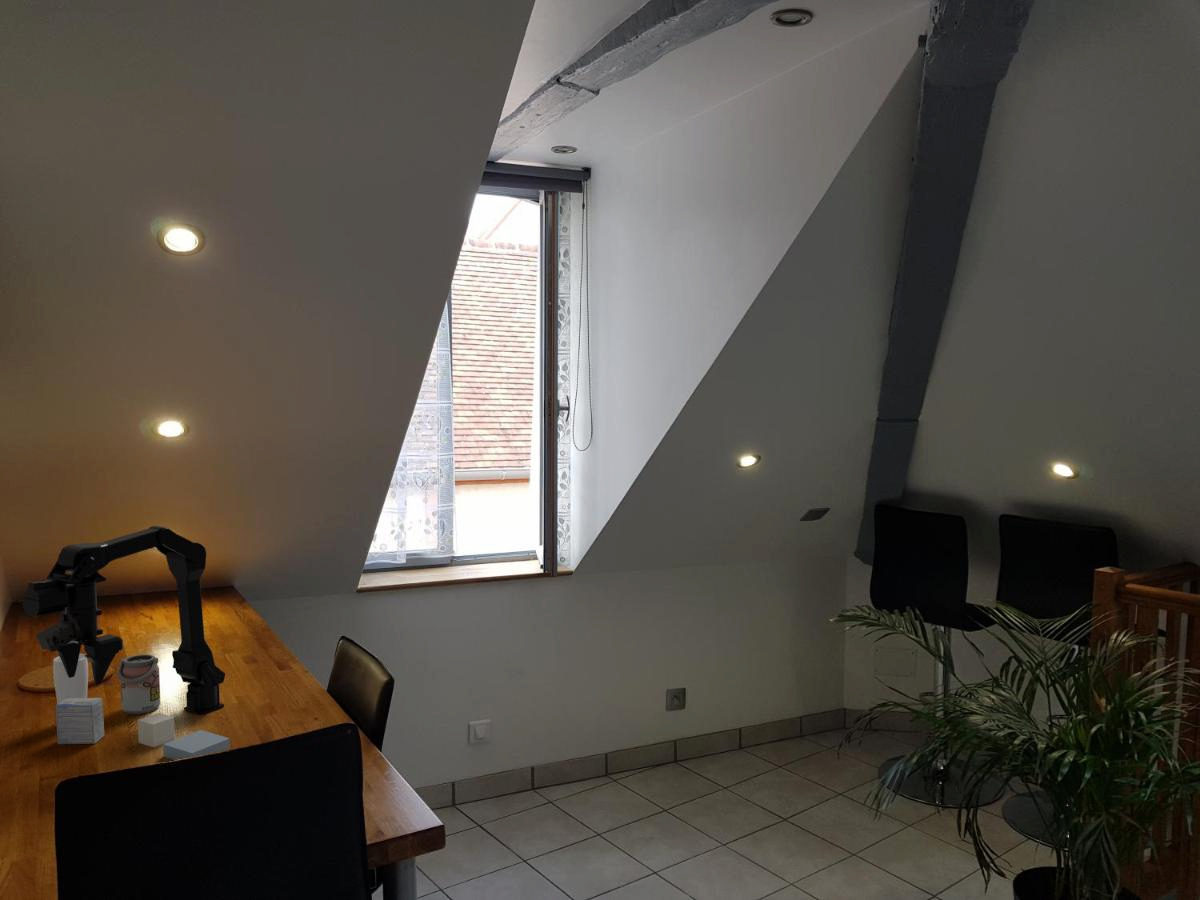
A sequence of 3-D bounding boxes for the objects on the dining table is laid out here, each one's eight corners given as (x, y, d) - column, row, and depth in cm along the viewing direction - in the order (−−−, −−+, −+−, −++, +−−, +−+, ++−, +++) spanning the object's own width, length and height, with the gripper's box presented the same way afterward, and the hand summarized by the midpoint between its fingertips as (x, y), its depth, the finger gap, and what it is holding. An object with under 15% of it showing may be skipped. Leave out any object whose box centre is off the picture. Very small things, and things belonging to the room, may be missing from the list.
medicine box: (105, 736, 211) (103, 697, 210) (95, 744, 207) (93, 704, 206) (67, 737, 211) (65, 697, 210) (57, 745, 206) (54, 705, 206)
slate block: (201, 743, 208) (200, 730, 208) (229, 752, 204) (229, 738, 203) (163, 758, 200) (163, 744, 200) (192, 767, 196) (192, 753, 196)
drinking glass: (86, 727, 216) (83, 660, 215) (52, 730, 214) (49, 663, 213) (93, 716, 223) (90, 652, 221) (60, 719, 221) (56, 654, 219)
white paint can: (151, 716, 223) (149, 664, 222) (113, 717, 222) (111, 665, 221) (166, 702, 232) (164, 652, 231) (129, 703, 231) (127, 653, 230)
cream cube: (159, 735, 212) (159, 712, 211) (174, 739, 209) (174, 717, 209) (138, 743, 208) (137, 720, 207) (153, 747, 205) (152, 724, 205)
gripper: (15, 609, 199) (19, 684, 200) (69, 621, 189) (73, 700, 191) (69, 597, 208) (72, 669, 210) (123, 609, 199) (126, 684, 200)
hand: (84, 680), depth 202 cm, fingers open, 9 cm apart
